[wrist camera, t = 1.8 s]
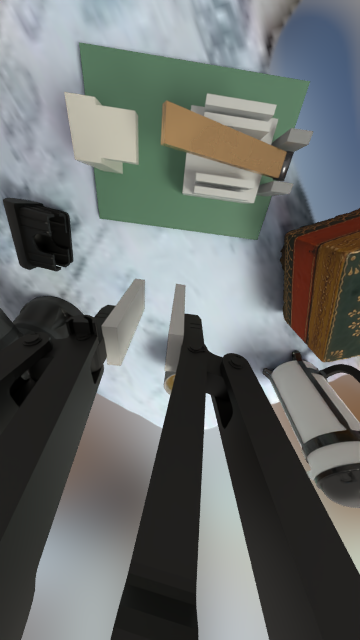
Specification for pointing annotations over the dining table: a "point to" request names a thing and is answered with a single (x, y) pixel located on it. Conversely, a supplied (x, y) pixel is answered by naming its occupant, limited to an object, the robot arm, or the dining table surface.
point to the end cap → (39, 234)
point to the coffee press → (322, 426)
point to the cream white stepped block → (102, 133)
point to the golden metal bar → (221, 143)
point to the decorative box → (324, 285)
